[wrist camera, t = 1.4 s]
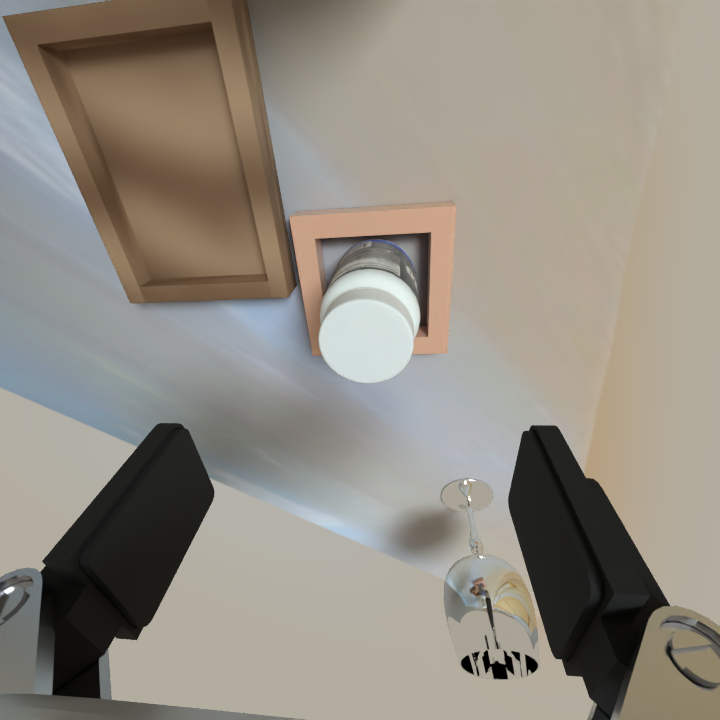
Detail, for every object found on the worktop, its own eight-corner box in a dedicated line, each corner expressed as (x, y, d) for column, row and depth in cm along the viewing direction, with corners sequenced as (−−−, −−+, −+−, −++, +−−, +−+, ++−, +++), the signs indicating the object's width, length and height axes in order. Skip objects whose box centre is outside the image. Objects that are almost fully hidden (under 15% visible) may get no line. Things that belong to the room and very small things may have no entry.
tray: (42, 28, 17) (2, 16, 15) (246, -1, 16) (228, -17, 14) (149, 291, 24) (130, 303, 22) (296, 285, 22) (288, 297, 21)
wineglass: (435, 472, 30) (453, 640, 20) (505, 474, 30) (560, 649, 20) (432, 514, 34) (446, 678, 23) (496, 516, 33) (539, 686, 23)
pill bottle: (410, 314, 23) (416, 396, 16) (337, 309, 23) (310, 387, 16) (420, 238, 20) (431, 295, 13) (337, 234, 21) (306, 287, 14)
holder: (295, 211, 20) (289, 216, 19) (452, 201, 19) (456, 205, 18) (317, 344, 25) (312, 355, 23) (444, 341, 24) (447, 353, 22)
